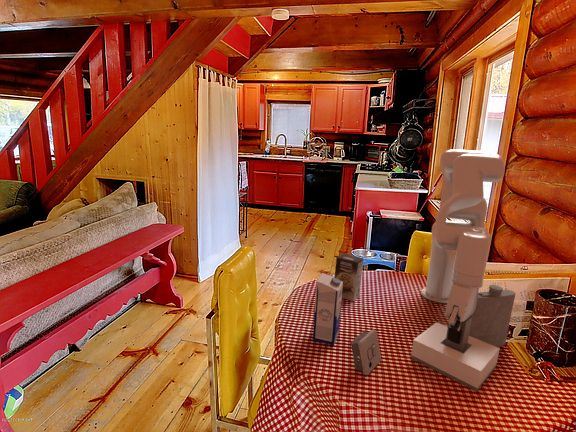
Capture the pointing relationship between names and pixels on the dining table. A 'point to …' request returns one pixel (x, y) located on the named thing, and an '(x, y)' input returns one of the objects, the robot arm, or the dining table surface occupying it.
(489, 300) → the hip flask
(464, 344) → the plug
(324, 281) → the milk carton
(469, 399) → the dining table surface
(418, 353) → the socket
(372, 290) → the dining table surface
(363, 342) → the electrical switch
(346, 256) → the coffee box
